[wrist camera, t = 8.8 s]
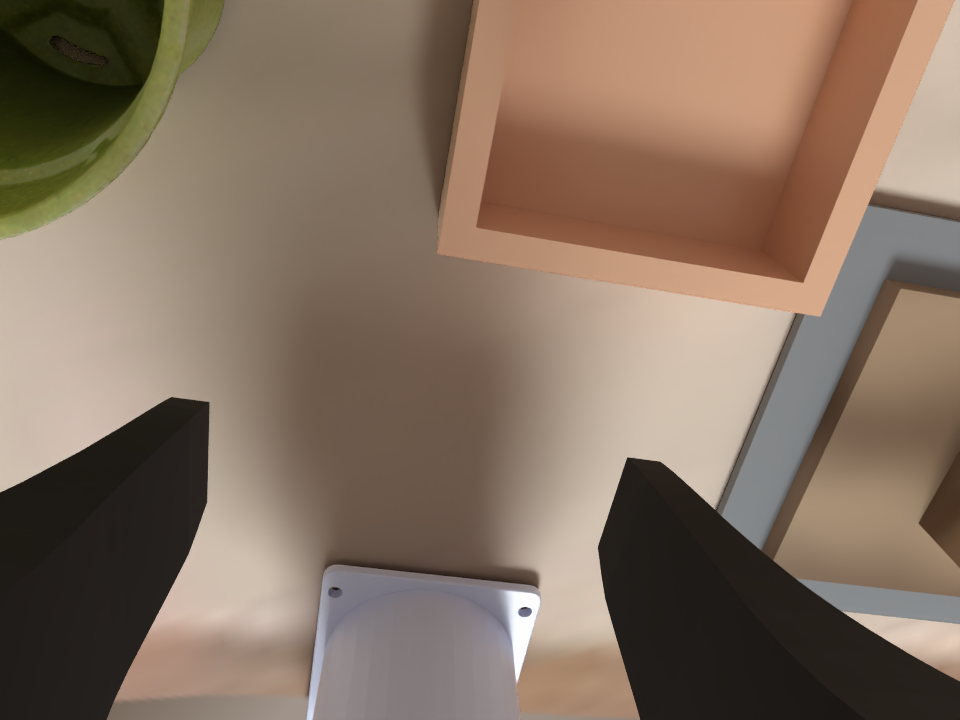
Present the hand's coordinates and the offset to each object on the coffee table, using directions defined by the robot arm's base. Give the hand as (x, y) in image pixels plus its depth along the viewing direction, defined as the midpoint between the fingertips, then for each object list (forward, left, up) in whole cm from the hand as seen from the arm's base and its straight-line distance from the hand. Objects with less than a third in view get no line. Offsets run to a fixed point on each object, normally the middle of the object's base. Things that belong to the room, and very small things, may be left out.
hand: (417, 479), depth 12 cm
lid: (-3, -19, -10) cm, 21 cm away
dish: (+7, -5, -10) cm, 13 cm away
